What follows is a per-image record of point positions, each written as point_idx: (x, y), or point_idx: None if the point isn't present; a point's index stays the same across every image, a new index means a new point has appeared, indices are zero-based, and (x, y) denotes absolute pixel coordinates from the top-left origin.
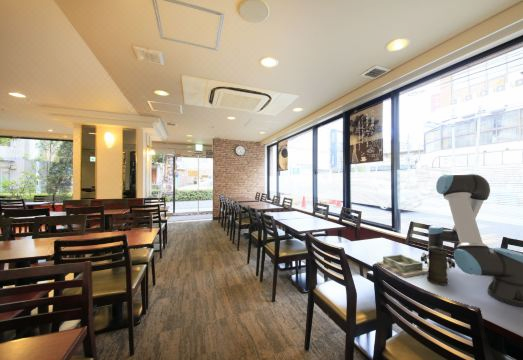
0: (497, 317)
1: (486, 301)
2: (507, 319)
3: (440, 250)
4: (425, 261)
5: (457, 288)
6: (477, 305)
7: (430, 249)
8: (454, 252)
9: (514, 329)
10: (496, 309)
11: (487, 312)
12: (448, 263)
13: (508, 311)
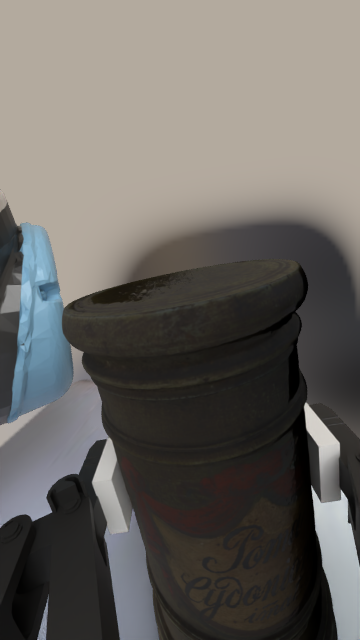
0: (76, 406)
1: (33, 487)
2: (54, 412)
3: (151, 283)
4: (317, 409)
5: (110, 564)
6: (96, 431)
7: (253, 260)
8: (55, 268)
9: (71, 387)
10: (43, 445)
11: (88, 412)
12: (105, 445)
13: (6, 458)
